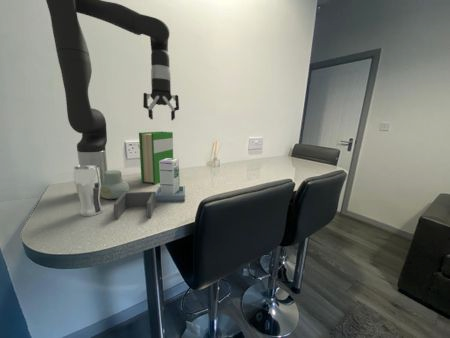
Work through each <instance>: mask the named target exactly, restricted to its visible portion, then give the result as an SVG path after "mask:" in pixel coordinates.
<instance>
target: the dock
mask: <svg viewBox="0 0 450 338" xmlns="http://www.w3.org/2000/svg"><path fill="white" fill-rule="evenodd" d="M156 205H157V202H156V191H129V192H124V193H123V194H122V195H121V196H120V197H119V198H116V200H115V202H114V203H113V205H112V206H113V215H114V220H119V219H120V218H121V216H122V215H123V213H124V212H125V210H126V209H127V208H130V207H132V208H133V207H135V208H136V207H146V208H147V212H146V213H147V219H150V218H151V219H152V216H153V214H154V213H155V212H154V211H155V209H156Z"/></svg>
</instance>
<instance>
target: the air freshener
mask: <svg viewBox="0 0 450 338" xmlns="http://www.w3.org/2000/svg"><path fill="white" fill-rule="evenodd" d="M130 189H131V188H130V185H129V183H127V182H126V181H123V177H122V171H121V170H119V169H118V170H117V169H112V170H108V171H106V172H104V183H103V184H101V195H100V198H104V199H106V200H115V199H116V200H117V199H118V198H119V197H120V196H121V195H122V194H123V193H124V192H130Z"/></svg>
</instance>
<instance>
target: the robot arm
mask: <svg viewBox="0 0 450 338" xmlns="http://www.w3.org/2000/svg"><path fill="white" fill-rule="evenodd" d="M45 1H46V5H47V8H48V11H49V16H50V21H51V28H52V33H53V38H54V44H55V51H56V55H57V60H58V65H59V68H60V73H61V78H62V83H63V88H64V93H65V101H66V103H65V104H66V112H67V120H68V124H69V125H70V128H71V129H72V130H74V131H75V132H76V133H79V134H81V139H80V140H79V142H78V143H76V150H77V157H78V158H77V159H78V166H82V165H98V166H99V169H100V174H101V184H103V183H104V172H106V171H109V170H108V162H107V161H108V160H107V151H106V145H107V142H108V136H107V135H108V134H107V133H108V131H107V122H106V121H107V120H106V118H105V116H104V113H102V112H101V111H100V110H98V109H96V108H92V107H91V103H90V98H89V86H90V83H91V78H92V62H91V57H90V52H89V49H88V45H87V42H86V39H85V36H84V33H83V30H82V27H81V24H80V21H79V17H78V14H82V15H85V16H88V17H91V18H95V19H98V20H101V21H102V22H105V23H109V24H111V25H114V26H116V27H118V28H121V30H124V31H127V32H129V33H132V34H134V35H137V36H141V35H144V36H146V37H149V38H150V39H149V40H150V41H149V42H150V49H151V52H150V53H151V56H150V60H151V62H150V63H151V64H150V66H151V68H150V78H151V93H147V92H144V93H143V98H142V99H143V103H142V104H143V105H142V107H143V108H145V109H146V110H147V112H148V118H149V120H154V116H153V115H154V111H153V109H154V108H155V106H156V105H158V106H161V105H162V106H168V107H169V108H170V110H171V111H170V113H171V114H170V117H171V118H170V119H171V121H174V120H175V118H176V111H179V110H180V102H179V95H177V94H175V95H174V94H171V93H172V91H171V90H172V89H171V85H172V84H171V70H170V55H169V40H170V39H169V38H170V33H171V32H170V31H171V30H170V29H169V26H168V25H167V24H166V23H165V22H164V21H163V20H161V19H158V18H156V17H153V16H151V15H147V14H141V13H139V12H137V11H136V10H133V9H131V8H129V7H127V6H125V5H123V4H120V3H117V2H111V1H106V0H45ZM150 98H151V99H152V102H151V103H150V105H149V106H148V101H149V99H150ZM172 99H173V101H175V107H174V106H173V105H172V103H171V100H172Z"/></svg>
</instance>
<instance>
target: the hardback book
mask: <svg viewBox="0 0 450 338" xmlns="http://www.w3.org/2000/svg"><path fill="white" fill-rule="evenodd" d="M173 134H174V133H173V131H144V132H138V140H139V143H138V144H139V158H140V159H139V160H140V179H141V184H145V183H153V185H157V184H160V170H159V161H160V160H163V159H166V158H174V136H173Z"/></svg>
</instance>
